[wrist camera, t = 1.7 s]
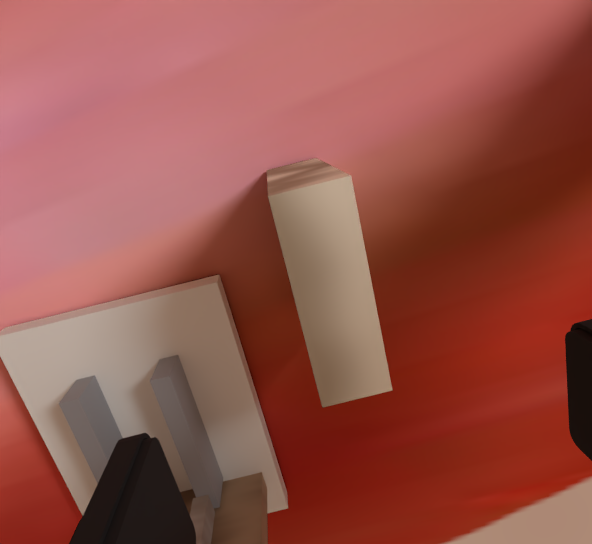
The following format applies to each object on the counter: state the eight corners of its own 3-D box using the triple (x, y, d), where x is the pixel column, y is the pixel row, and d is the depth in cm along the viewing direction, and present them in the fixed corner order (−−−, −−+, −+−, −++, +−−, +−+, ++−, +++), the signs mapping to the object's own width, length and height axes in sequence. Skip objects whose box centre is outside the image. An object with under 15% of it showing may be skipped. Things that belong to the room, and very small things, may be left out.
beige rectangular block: (315, 158, 26) (351, 175, 15) (345, 295, 28) (392, 390, 18) (266, 170, 26) (267, 196, 15) (301, 306, 29) (322, 407, 18)
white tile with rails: (219, 274, 27) (212, 297, 24) (287, 492, 33) (290, 538, 29) (5, 327, 28) (-37, 358, 24) (109, 535, 33) (88, 587, 29)
